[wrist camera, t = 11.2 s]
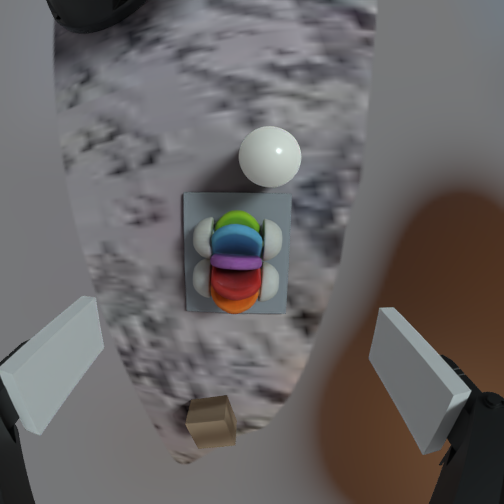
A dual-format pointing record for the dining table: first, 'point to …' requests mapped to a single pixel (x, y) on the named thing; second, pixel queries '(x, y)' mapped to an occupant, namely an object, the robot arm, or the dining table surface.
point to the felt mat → (260, 209)
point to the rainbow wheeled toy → (236, 260)
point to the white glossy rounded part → (269, 156)
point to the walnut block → (211, 422)
